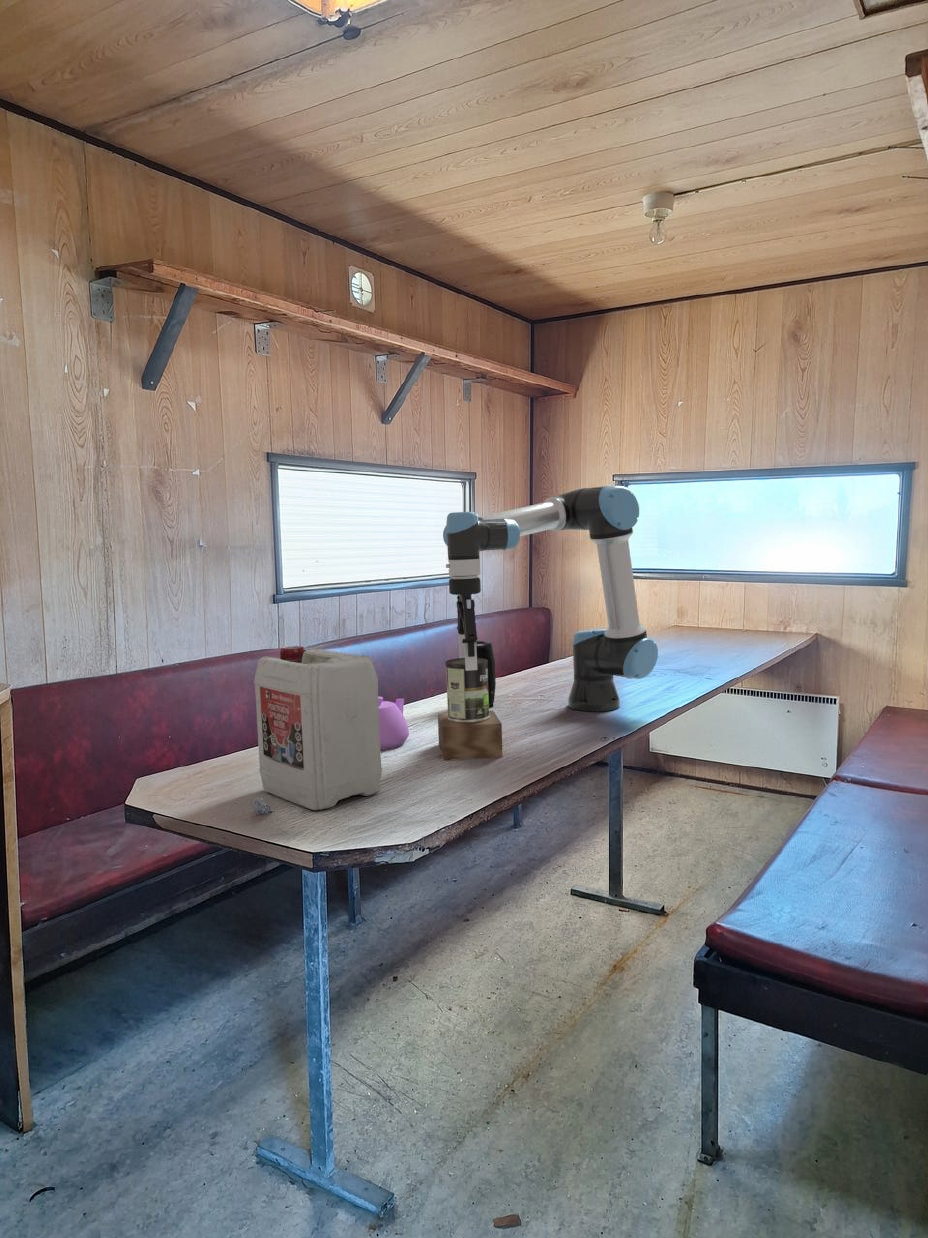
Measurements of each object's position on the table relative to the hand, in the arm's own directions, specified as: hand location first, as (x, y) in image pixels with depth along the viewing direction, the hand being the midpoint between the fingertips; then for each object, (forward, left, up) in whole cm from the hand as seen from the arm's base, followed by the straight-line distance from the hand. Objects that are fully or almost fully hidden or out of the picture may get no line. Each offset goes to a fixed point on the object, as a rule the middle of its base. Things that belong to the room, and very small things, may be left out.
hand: (468, 665), depth 194 cm
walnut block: (0, 0, -21) cm, 21 cm away
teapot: (+22, -12, -21) cm, 33 cm away
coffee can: (0, 0, -13) cm, 13 cm away
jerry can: (+34, +25, -21) cm, 48 cm away
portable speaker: (-9, -48, -21) cm, 53 cm away
